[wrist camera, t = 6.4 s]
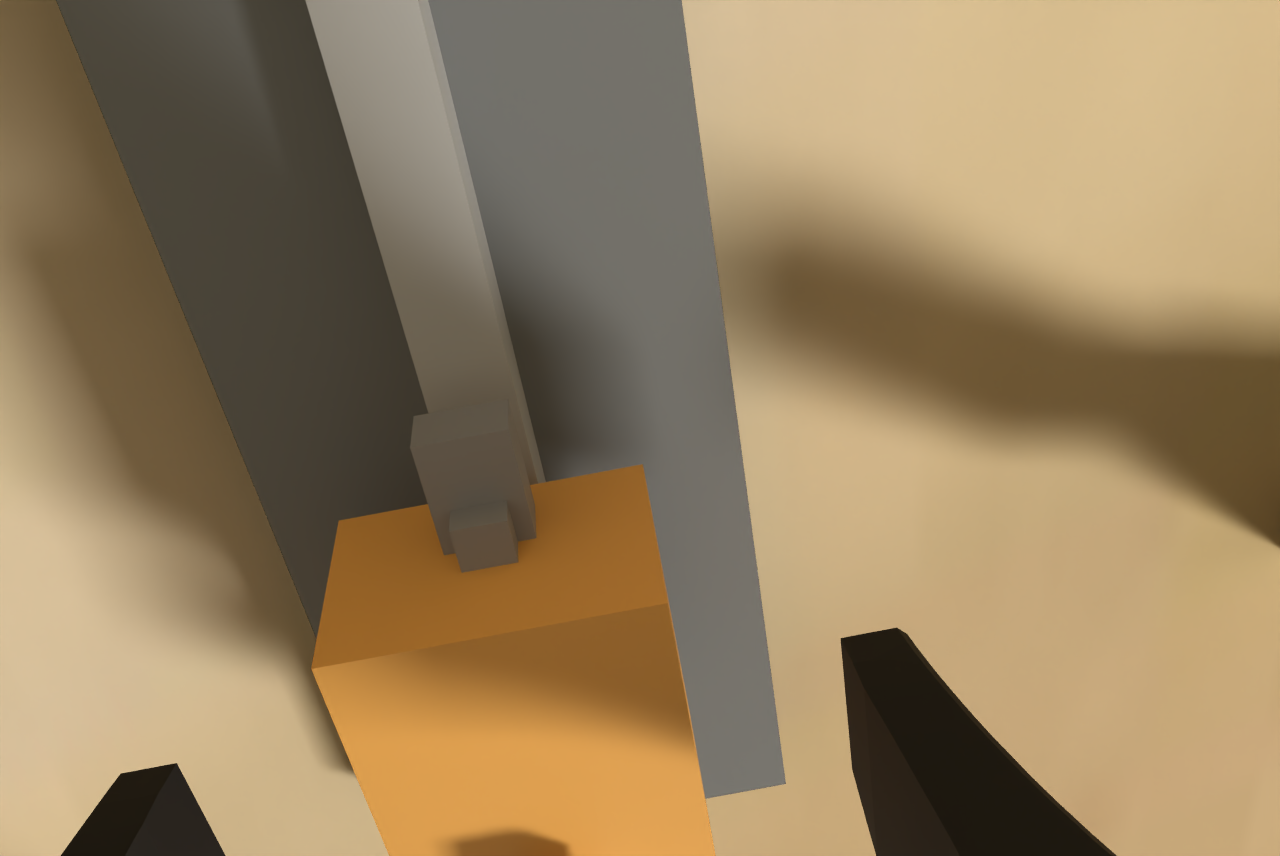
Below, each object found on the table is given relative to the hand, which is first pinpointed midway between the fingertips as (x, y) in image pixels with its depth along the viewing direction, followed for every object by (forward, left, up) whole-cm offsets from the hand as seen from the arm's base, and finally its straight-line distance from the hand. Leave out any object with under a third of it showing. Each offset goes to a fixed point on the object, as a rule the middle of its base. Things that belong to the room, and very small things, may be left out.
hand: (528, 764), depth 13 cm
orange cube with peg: (+1, 0, -2) cm, 2 cm away
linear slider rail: (+2, 0, -5) cm, 5 cm away
